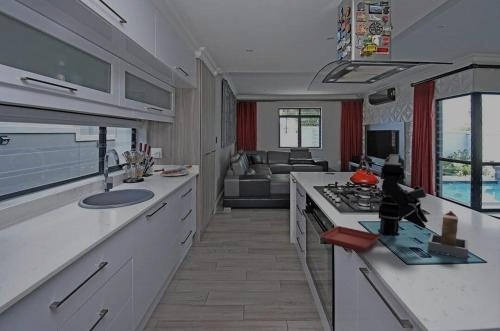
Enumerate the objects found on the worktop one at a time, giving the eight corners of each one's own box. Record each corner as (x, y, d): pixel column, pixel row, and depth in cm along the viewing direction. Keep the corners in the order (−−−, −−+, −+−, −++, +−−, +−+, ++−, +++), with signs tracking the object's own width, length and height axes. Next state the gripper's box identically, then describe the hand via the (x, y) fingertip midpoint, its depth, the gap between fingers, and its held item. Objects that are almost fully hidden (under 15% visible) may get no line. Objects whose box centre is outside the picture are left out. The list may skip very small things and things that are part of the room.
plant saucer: (337, 232, 127) (337, 225, 127) (381, 242, 115) (381, 234, 115) (318, 243, 113) (319, 235, 113) (366, 256, 102) (366, 247, 101)
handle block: (440, 248, 107) (443, 217, 106) (440, 245, 111) (443, 214, 110) (454, 251, 105) (457, 219, 103) (454, 248, 108) (457, 216, 107)
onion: (443, 224, 140) (444, 208, 139) (457, 227, 136) (459, 210, 136) (441, 227, 136) (442, 210, 135) (456, 230, 132) (458, 213, 131)
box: (427, 251, 107) (428, 241, 106) (430, 242, 116) (431, 233, 116) (467, 259, 100) (468, 249, 99) (466, 249, 109) (467, 240, 109)
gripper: (410, 182, 105) (444, 218, 100) (416, 177, 120) (445, 208, 115) (385, 201, 111) (416, 235, 105) (393, 194, 126) (421, 223, 120)
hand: (425, 224), depth 111 cm, fingers open, 9 cm apart
